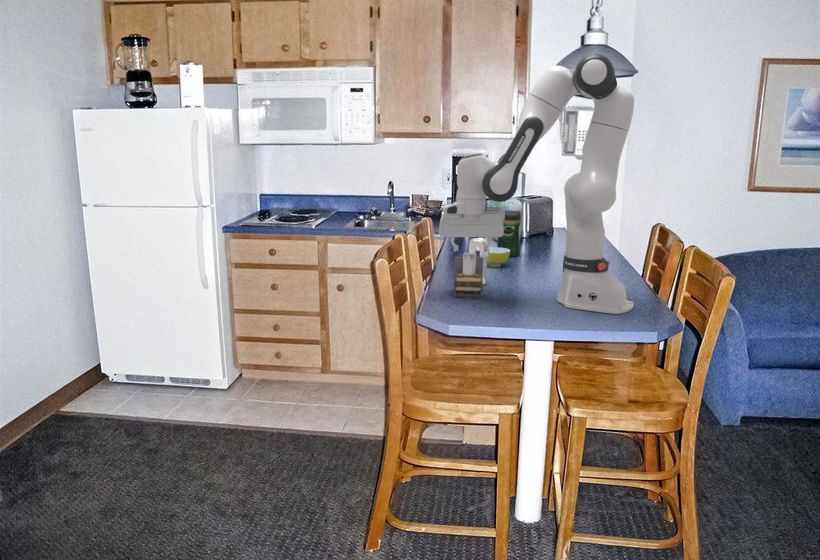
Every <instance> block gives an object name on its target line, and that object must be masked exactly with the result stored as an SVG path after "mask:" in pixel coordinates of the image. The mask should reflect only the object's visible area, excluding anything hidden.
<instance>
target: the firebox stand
mask: <svg viewBox="0 0 820 560" xmlns="http://www.w3.org/2000/svg"><path fill="white" fill-rule="evenodd" d="M462 276H463V256H455V257H454V280H453V281H454V283H453V284H454V286H453V287H454V289H453V297H454V298H473V297H478V298H477V299H483V296H484V291H483V285H482V277H483V257H476V267H475V278H467V277H462ZM462 281H475V287H462ZM462 290H467V291H474V292H464V291H462Z"/></svg>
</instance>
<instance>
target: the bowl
mask: <svg viewBox="0 0 820 560" xmlns="http://www.w3.org/2000/svg"><path fill="white" fill-rule="evenodd" d="M489 248H490V251H489V260H488V266H489V267H493V268H499V267H501V266H502V264H503V263H505V262H506V261H508V259H509V254H510V250H509V249H506V248H498V247H497V246H496V247H492V246H491V247H490V246H489Z"/></svg>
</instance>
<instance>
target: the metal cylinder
mask: <svg viewBox="0 0 820 560" xmlns="http://www.w3.org/2000/svg"><path fill="white" fill-rule="evenodd" d="M462 254H463V255H462V257H463V276H462V277H467V278H475V267H476V254H475V253H469V252H463V253H462ZM462 287H475V281H462ZM462 291H464V292H474V291H467V290H462Z"/></svg>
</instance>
